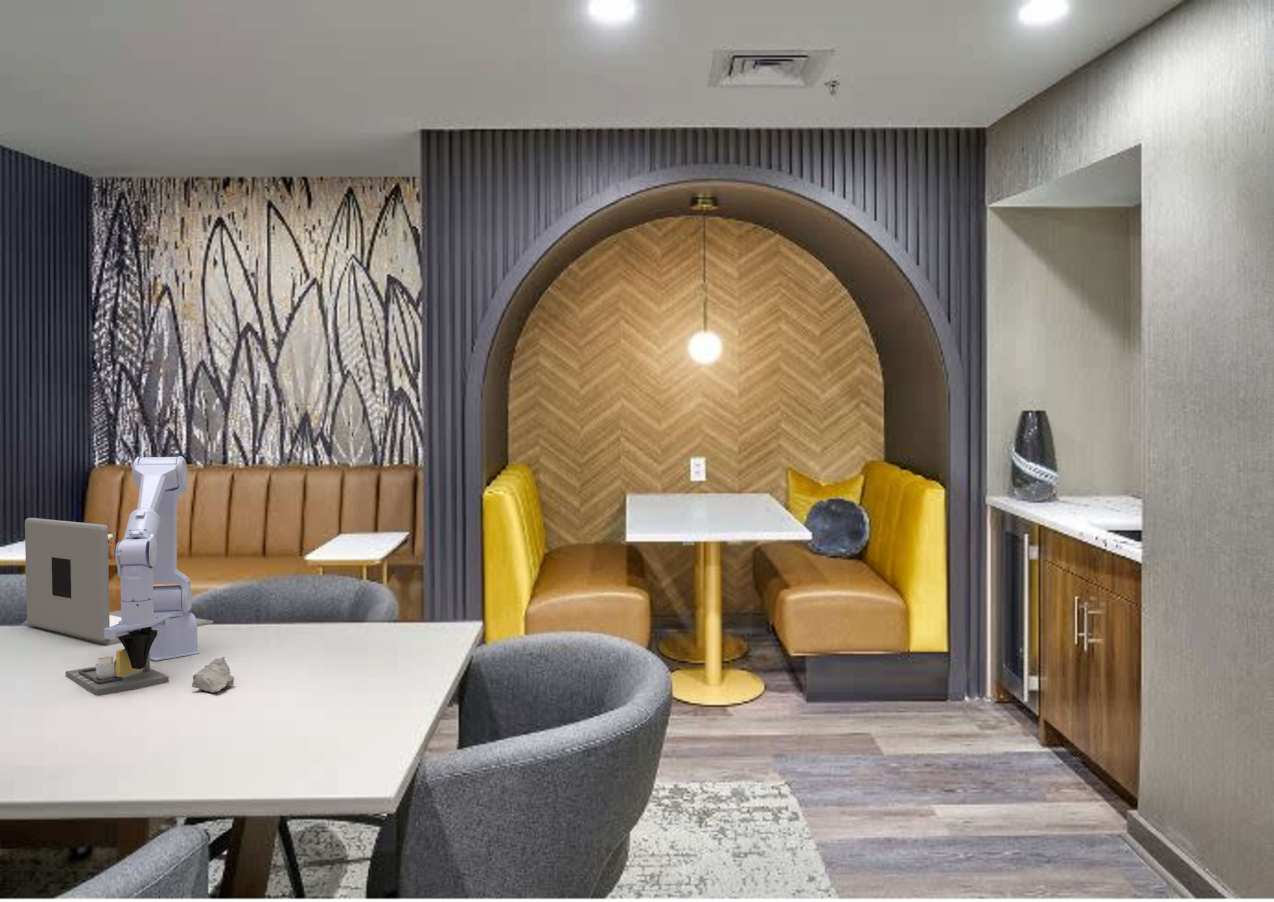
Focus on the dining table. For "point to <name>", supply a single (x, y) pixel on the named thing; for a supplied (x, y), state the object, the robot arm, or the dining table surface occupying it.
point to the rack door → (123, 663)
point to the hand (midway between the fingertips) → (138, 667)
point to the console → (117, 679)
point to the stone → (213, 676)
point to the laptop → (70, 579)
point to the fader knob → (105, 669)
